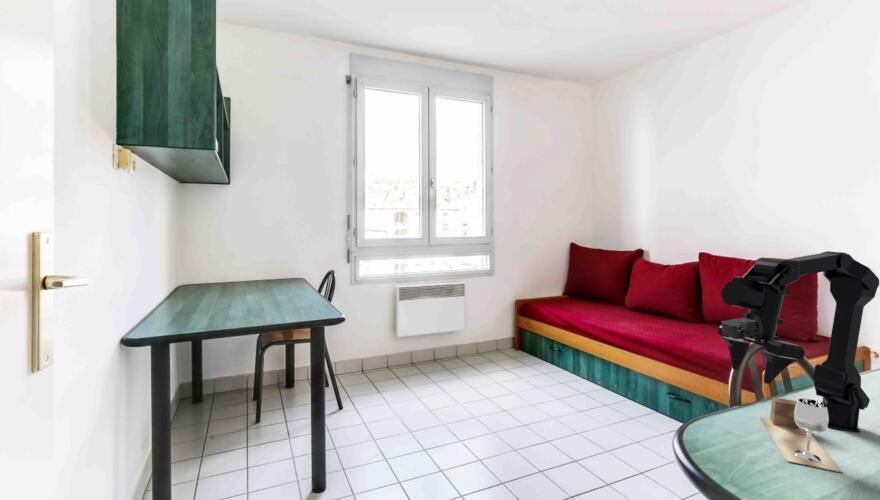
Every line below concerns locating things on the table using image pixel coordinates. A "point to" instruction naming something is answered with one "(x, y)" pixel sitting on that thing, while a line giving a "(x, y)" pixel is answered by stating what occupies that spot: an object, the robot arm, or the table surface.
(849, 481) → the table surface
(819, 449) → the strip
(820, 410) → the wineglass
